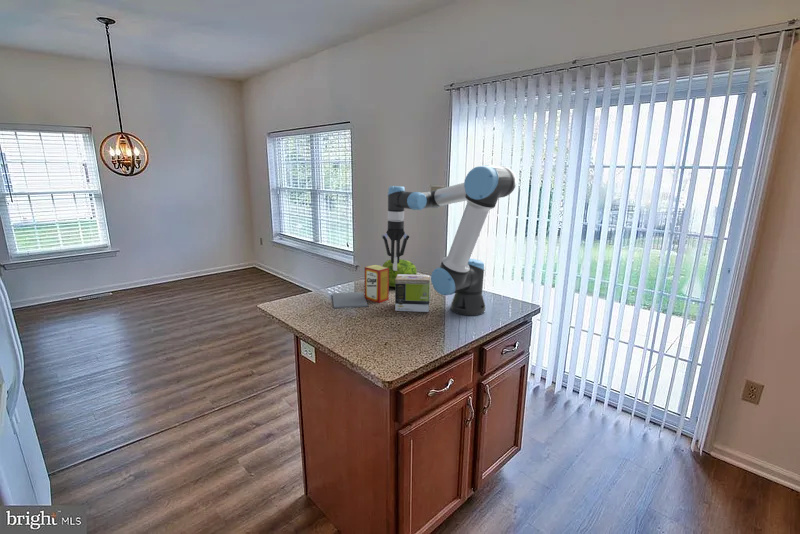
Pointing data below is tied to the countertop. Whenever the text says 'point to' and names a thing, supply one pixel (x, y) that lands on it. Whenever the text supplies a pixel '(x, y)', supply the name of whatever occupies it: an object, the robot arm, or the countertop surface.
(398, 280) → the tea box
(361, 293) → the mat
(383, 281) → the baking soda box
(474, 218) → the robot arm
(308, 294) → the countertop surface
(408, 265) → the lettuce
